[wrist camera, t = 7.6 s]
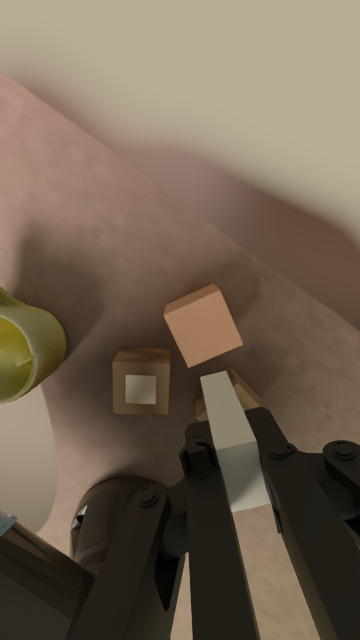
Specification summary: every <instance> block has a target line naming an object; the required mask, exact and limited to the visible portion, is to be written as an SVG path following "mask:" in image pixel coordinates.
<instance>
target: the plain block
mask: <svg viewBox="0 0 360 640" xmlns="http://www.w3.org/2000/svg"><path fill="white" fill-rule="evenodd" d="M163 316H164V318H165V320H166V322H167V324H168V326H169V328H170V330H171V332H172V334H173V337H174V339H175V341H176V343H177V345H178V347H179V349H180V351H181V353H182V355H183V357H184V359H185V362H186V364H187V366H188V368H190V367H192V366H194V365H197V364H199V363H201V362H204V361H206V360H208V359H211V358H213V357H215V356H218V355H220V354H222V353H225V352H227V351H229V350H232V349H234V348H236V347H239V346H241V345H243V342H242V340H241V338H240V335H239V333H238V331H237V328H236V326H235V324H234V321H233V319H232V317H231V314H230V312H229V310H228V307H227V305H226V303H225V300H224V298H223V296H222V293H221V291H220V290H219V289H218V288H217V287H216V286H215V285H214V284H210V285H208V286H206V287H204V288H202V289H199V290H197V291H195V292H193V293H191V294H188V295H186V296H184V297H182V298H179V299H177V300H175V301H173V302H171V303H168V304H166V306H165V311H164V315H163Z"/></svg>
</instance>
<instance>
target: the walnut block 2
mask: <svg viewBox="0 0 360 640" xmlns="http://www.w3.org/2000/svg"><path fill="white" fill-rule="evenodd" d="M225 371H226V372H227V374H228V377H229V379H230V381H231V384H232V386H233V388H234V390H235V393H236V395H237V397H238V400H239V402H240V404H241V406H242V409H243V411H244V410H249V409H253V408H257V407H261V406H262V407H264V408H265V409H267V408H266V407H265V405H264V403H263V401H262V399H261V398H260V397H259V396H258V395H257V394H256V393H255V392H254V391H253V390H252V389H251V388H250V387H249V386H248V385H247V384H246V383H245V382H244V381H243V380H242V378H241V377H240V376H239V375H238V374H237V373H236V372H235V371H234V370H233V369H232V368H231V367H229V368H228V369H226V370H225ZM194 404H195V413H196V419H197V420H198V421H199V422H201V421H206V420H209V418H208V414H207V409H206V404H205V399H204V394H203V390H202V391H201V392H199V393H198V394H197V395H196V396H195V397H194Z"/></svg>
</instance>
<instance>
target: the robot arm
mask: <svg viewBox="0 0 360 640" xmlns="http://www.w3.org/2000/svg"><path fill="white" fill-rule="evenodd" d="M200 380H201V384H202V389H203V394H204V399H205V404H206V409H207V414H208V418H209V420H206V421H201V422H197V423H193V424H189V425H188V427H187V429H186V431H185V439H186V445H185V446H184V447H183V448H182V449H181V451H180V454H179V457H180V460H181V464H182V467H183V471H184V474H185V476H184V478H183V479H182V480H181V481H180V482H179V483H178V484H176V485H174V486H173V487H171V488H169V489H166V488H165V487H163V486H162V485H160V484H158V483H156V482H154V481H151V480H148V479H145V478H140V477H117V478H113V479H109V480H106V481H104V482H102V483H99V484H98V485H96V486H95V487H93V488H92V489H91V490H89V491H88V492H87V493H86V494H85V496H84V497H83V498H82V500H81V501H80V503H79V505H78V508H77V510H76V513H75V515H74V518H73V521H72V525H71V531H70V558H69V557H68V556H66V555H65V554H63V553H62V552H60V551H59V550H58V549H56V548H55V547H53V546H52V545H50V544H49V543H47V542H46V541H44V540H43V539H41V538H40V537H38V536H37V535H35V534H34V533H33V532H31V531H29V530H28V529H27V528H25V527H24V526H23V525H21V524H20V523H18V522H17V519H18V518H17V517H16V516H14V515H13V516H9V515H7V514H6V513H4V512H2V511H1V510H0V640H170V635H171V630H172V624H173V619H174V614H175V609H176V604H177V599H178V594H179V588H180V583H181V578H182V573H183V568H184V563H185V553H187V552H188V551H189V571H190V591H191V611H192V631H193V640H261V639H260V635H259V630H258V626H257V621H256V617H255V612H254V608H253V603H252V599H251V595H250V590H249V586H248V581H247V577H246V572H245V568H244V563H243V559H242V555H241V550H240V546H239V541H238V537H237V532H236V528H235V524H234V520H233V516H232V513H233V512H237V511H241V510H246V509H250V508H255V507H259V506H264V505H268V504H270V501H271V504H272V508H273V512H274V517H275V522H276V526H277V531H278V533H281V535H282V538H283V541H284V543H285V546H286V549H287V551H288V554H289V557H290V559H291V562H292V565H293V567H294V570H295V573H296V575H297V578H298V581H299V583H300V586H301V589H302V591H303V594H304V596H305V599H306V602H307V604H308V607H309V610H310V612H311V615H312V618H313V620H314V623H315V626H316V628H317V631H318V634H319V636H320V639H321V640H360V549H359V547H360V445H358V444H356V443H354V442H350V441H345V440H337V441H333V442H330V443H328V444H327V445H325V446H324V448H323V453H305V452H301V451H298V449H297V448H296V447H295V446H294V445H293V444H290V443H288V441H287V439H286V438H285V436H284V434H283V433H282V431H281V429H280V428H279V426H278V424H277V423H276V421H275V419H274V418H273V416H272V414H271V413H270V411H269V410H267V409H265V408H264V407H262V406H261V407H257V408H253V409H249V410H244V411H243V409H242V406H241V404H240V402H239V400H238V397H237V395H236V393H235V390H234V388H233V386H232V384H231V381H230V379H229V377H228V374H227V372H226V371H222V372H218V373H214V374H210V375H206V376H202V377H200ZM269 498H270V500H269ZM357 545H358V546H359V547H358V546H357Z"/></svg>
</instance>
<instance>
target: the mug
mask: <svg viewBox="0 0 360 640" xmlns="http://www.w3.org/2000/svg"><path fill="white" fill-rule="evenodd" d="M66 349H67V340H66V336H65V332H64V330H63V327H62V326H61V324H60V323H59V321H58V320H57V319H56V318H55V317H54V316H53V315H52V314H51V313H49V312H47V311H46V310H44V309H40V308H37V307H34V306H29V305H27V304H25V303H23V302H22V301H19V300H17V299H16V298H14V297H12V296H10V295H9V293H8V292H7V291H5V290H4V289H3V288H1V287H0V404H2V403H6V402H11V401H15V400H16V399H18V398H20V397H22V396H24V395H25V394H27V393H28V392H30V391H31V390H32V389H33V388H35V387H36V386H38V384H40V383H41V382H42V381H43V380H44V379H45V378H47V377H48V376H50V375H51V374H52V373H53V372H54V371H56V370H57V368H58V367H59V366H60V365H61V363H62V362H63V360H64V357H65V354H66Z"/></svg>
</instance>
